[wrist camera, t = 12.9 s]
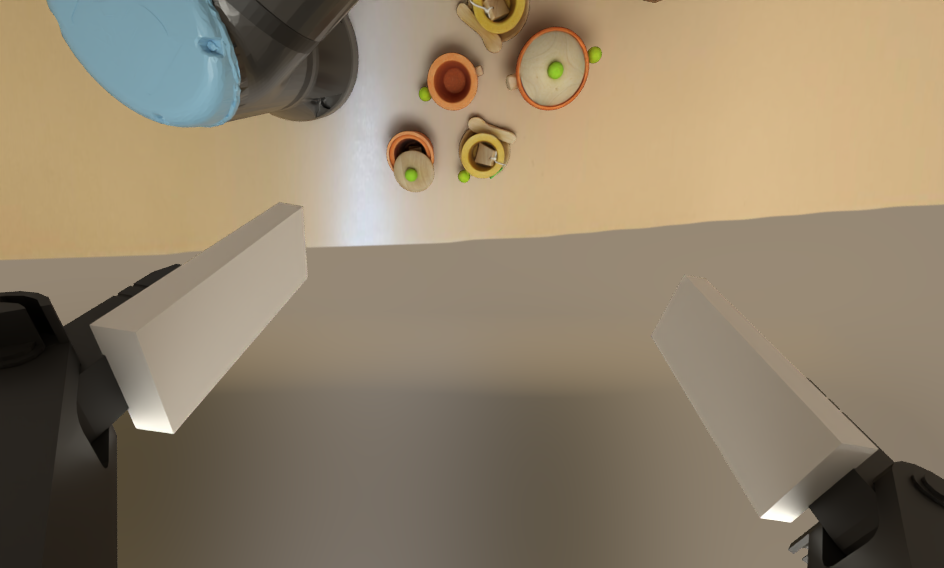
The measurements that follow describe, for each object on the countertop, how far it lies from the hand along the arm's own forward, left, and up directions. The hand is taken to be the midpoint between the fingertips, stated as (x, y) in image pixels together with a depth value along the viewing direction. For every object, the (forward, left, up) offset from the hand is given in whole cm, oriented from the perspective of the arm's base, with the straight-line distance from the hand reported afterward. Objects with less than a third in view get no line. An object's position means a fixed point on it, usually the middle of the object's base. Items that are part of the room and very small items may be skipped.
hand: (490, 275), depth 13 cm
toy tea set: (-2, +2, -39) cm, 39 cm away
